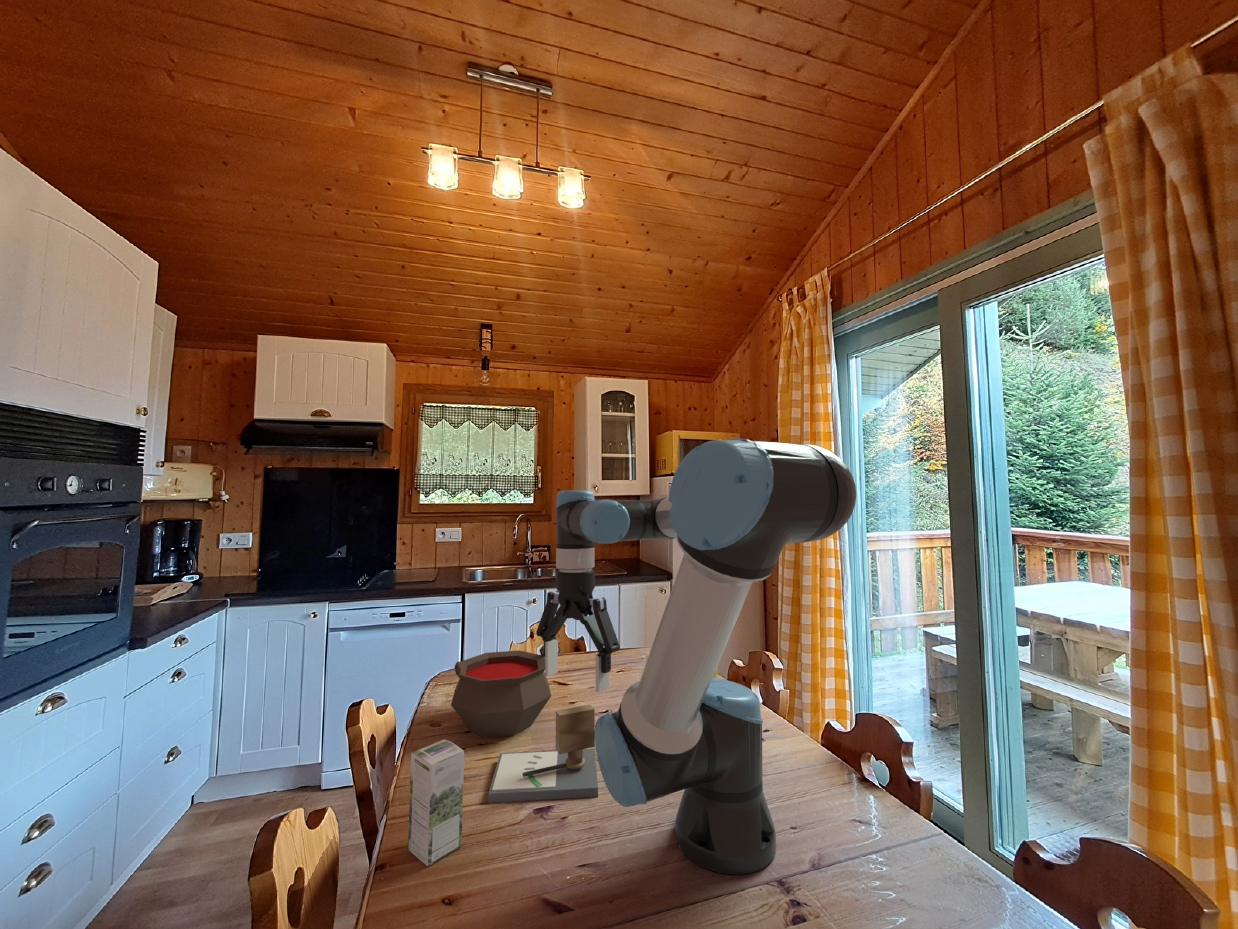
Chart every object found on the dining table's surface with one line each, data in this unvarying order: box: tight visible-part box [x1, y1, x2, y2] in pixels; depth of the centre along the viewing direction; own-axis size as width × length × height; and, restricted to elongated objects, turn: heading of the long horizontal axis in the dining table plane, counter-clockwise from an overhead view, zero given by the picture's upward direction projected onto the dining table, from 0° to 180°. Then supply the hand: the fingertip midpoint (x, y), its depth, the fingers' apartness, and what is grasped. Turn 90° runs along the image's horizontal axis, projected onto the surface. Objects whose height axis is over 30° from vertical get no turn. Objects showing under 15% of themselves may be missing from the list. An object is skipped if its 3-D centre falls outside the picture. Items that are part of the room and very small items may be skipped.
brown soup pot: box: [450, 644, 552, 739], centre depth 118 cm, size 24×24×16 cm
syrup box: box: [407, 739, 465, 867], centre depth 76 cm, size 6×6×14 cm
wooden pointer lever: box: [523, 704, 596, 777], centre depth 94 cm, size 14×4×10 cm, turn 114°
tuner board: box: [487, 748, 599, 804], centre depth 95 cm, size 14×19×2 cm
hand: (575, 682), depth 96 cm, fingers open, 13 cm apart
